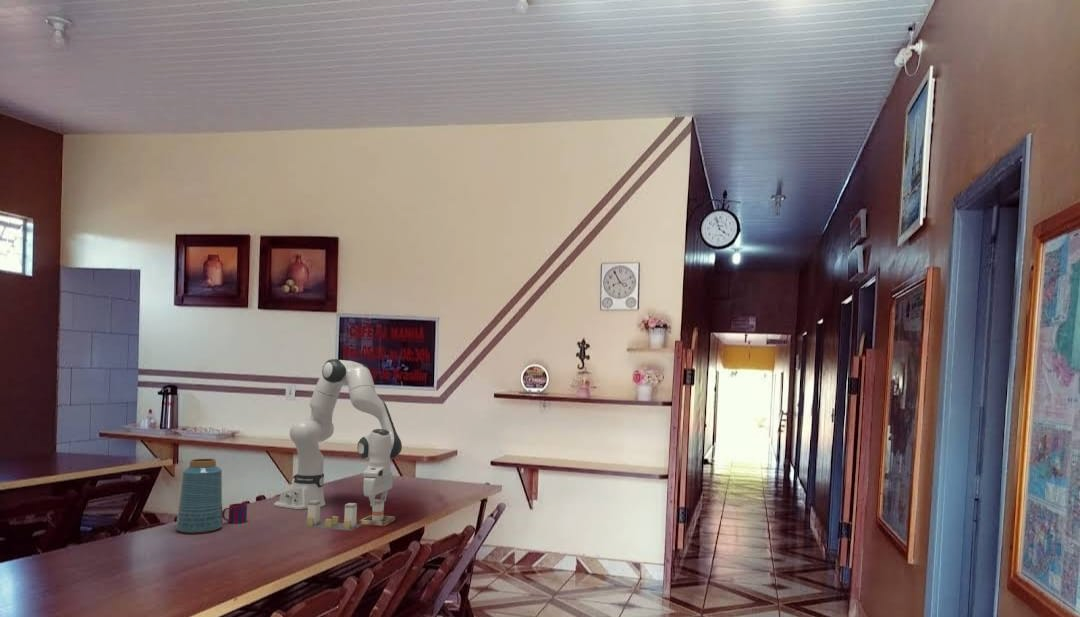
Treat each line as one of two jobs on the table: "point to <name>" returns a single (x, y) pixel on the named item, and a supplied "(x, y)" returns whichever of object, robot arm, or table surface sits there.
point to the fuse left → (314, 511)
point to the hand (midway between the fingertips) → (378, 503)
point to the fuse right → (351, 514)
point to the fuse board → (331, 524)
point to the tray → (387, 520)
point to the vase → (200, 497)
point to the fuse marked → (378, 510)
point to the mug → (236, 513)
